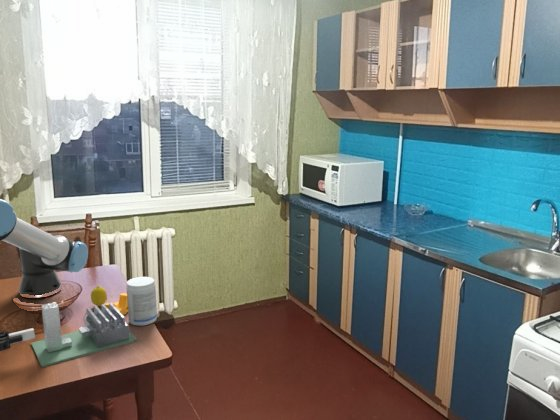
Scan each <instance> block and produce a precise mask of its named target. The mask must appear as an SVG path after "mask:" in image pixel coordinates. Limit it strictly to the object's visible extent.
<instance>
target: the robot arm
mask: <svg viewBox="0 0 560 420" xmlns="http://www.w3.org/2000/svg"><path fill="white" fill-rule="evenodd" d="M2 241H3V242H4V243H5V242H6V243H7V244H10V245H12V246H15V247H17V248H18V249H19V250H18V251H19V257H20V266H21V274H22V276H21V279H20V284H19V288H18V294H19V293H20V294H29V295H34V296H35V295H42V294H45V293H49V292H52V291H54V290H56V289H58V288H59V287H60V285H61V286H62V283H61V281H60V278H59V277H58V274H57V272H56V271H61V272H68V273H79V272H81V271H82V269H84V268H85V266H86V264H87V262H88V258H89V249H88V246H87V245H86V243H84V242H83V241H79V240H78V241H75V240H71V239H69V238H68V237H66V236H63V235H60V234H56V235H52V233H49V232H47V231H44V230H42V229H40V228H38V227H37V226H34V225H33V224H31V223H29V222H28V221H25V220H23V219H21V218H19V217H18V216H17V213H16V212H15V211H14V207H13V206H12V205H11V203H10V202H8V201H6V200H4V199H1V198H0V242H2ZM34 339H36V334H35V329H34V328H33V327H32V328H28V329H24V330H20V331H15V332H11V333H9V331H8V330H5V331H0V352H4V351H6V350H9V349H10V348H11V345H12V344H17V343H22V342H25V341H30V340H34Z"/></svg>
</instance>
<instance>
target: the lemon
mask: <svg viewBox="0 0 560 420" xmlns="http://www.w3.org/2000/svg"><path fill="white" fill-rule="evenodd" d="M107 297H108V295H107V291H106V289H105V288H104V287H102V286H100V285H98V286H96V287H94V288H93V289H92V290H91V293H90V299H91V303H92V304H93V305H94V306H97V307H98V308H99V307H102V306H101V304H104V305H105V304H106V302H107V299H108V298H107Z"/></svg>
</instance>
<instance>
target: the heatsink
mask: <svg viewBox="0 0 560 420" xmlns="http://www.w3.org/2000/svg"><path fill="white" fill-rule="evenodd" d="M108 303H109V309H108V308H107V307H106V306H105V303H104V304H101V306H100V307H101V309H100V308H99V306H97V305H93V310H94V312H93V310H92V309H91V308H90V307H88V306H87V307H86V316H83V320H84V321H83V322H84V324H83V325H84V326H80V327H78V331H79V333H80V334H81V336H82V337H85V336H89V337H90V339H91V340H92V341H93V343H94V344H95V346H96V347H97V348H101V347H104V346H108V345H112V344H115V343H119V342H122V341H126V340H129V331H130V327H129V324H128V323H127V322H126V318H125V317H126V316H125V315H122V314H121V313H120V312H119V311H118V309H117V308H116V307H115V306H114V305H113V304H112V303H113V302H111V301H110V302H108Z"/></svg>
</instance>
